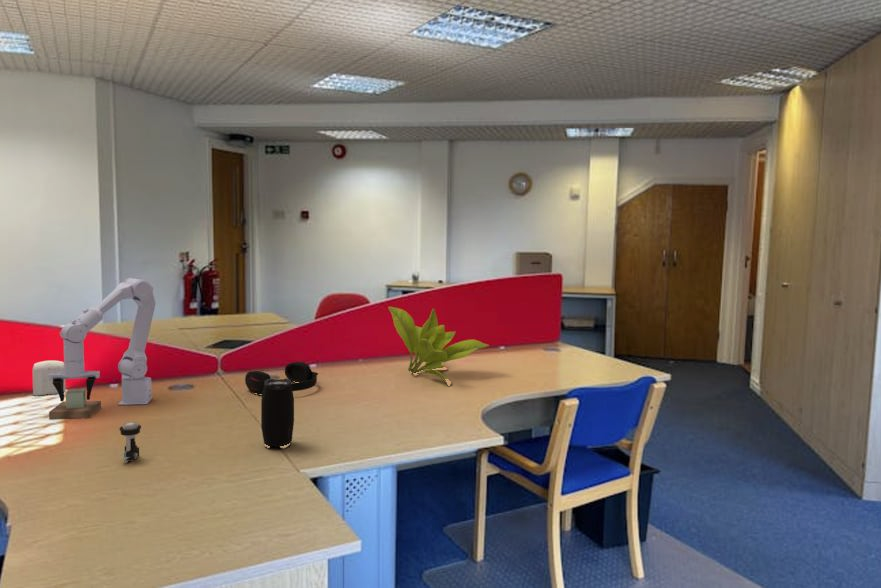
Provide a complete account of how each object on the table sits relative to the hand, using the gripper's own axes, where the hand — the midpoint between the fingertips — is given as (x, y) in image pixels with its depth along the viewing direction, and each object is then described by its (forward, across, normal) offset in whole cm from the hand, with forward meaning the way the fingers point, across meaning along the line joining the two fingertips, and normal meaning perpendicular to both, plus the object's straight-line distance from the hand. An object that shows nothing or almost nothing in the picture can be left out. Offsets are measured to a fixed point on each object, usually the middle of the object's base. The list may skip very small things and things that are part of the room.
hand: (75, 399), depth 216 cm
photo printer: (+5, +13, -28) cm, 31 cm away
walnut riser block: (+5, 0, 0) cm, 5 cm away
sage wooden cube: (+2, 0, 0) cm, 2 cm away
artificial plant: (+5, -133, -20) cm, 135 cm away
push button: (+5, -21, +50) cm, 54 cm away
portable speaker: (+5, -60, +49) cm, 78 cm away
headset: (+5, -69, -17) cm, 71 cm away
